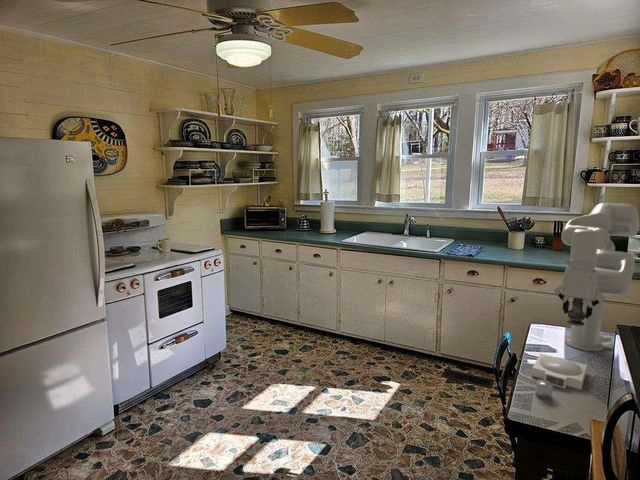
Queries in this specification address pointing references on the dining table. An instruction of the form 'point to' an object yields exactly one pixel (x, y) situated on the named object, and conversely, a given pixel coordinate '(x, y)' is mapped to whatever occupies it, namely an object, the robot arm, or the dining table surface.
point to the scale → (559, 371)
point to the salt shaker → (576, 313)
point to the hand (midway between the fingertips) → (576, 314)
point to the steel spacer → (544, 389)
